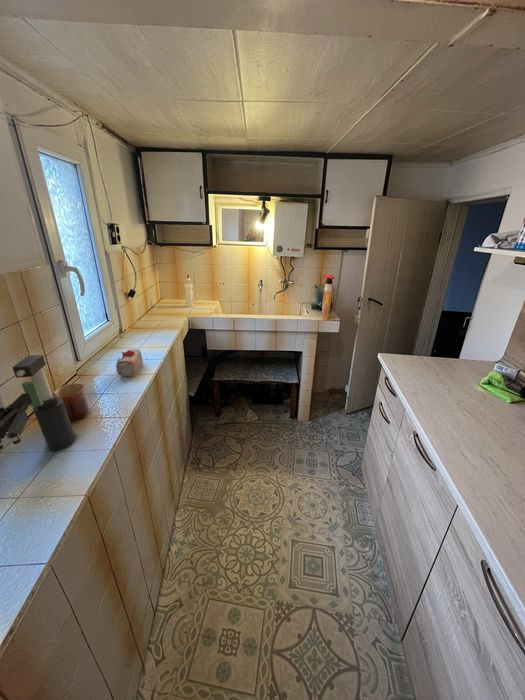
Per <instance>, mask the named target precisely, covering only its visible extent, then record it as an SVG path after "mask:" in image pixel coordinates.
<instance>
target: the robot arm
mask: <svg viewBox="0 0 525 700" xmlns="http://www.w3.org/2000/svg"><path fill="white" fill-rule="evenodd" d="M31 403H32V400H31V398H30V395H29V393H26V394H25V393H21V394H20V395H19V396H18V397H17V398H16V399H15V400H14V401H13V402H12V403H10V404H8V405H7V406H6V407H3V406H2V407H0V451H1V450H3V448H4V447H5V445H8V444H11V443H12V444H13V445H18V444H20V443H21V442H22V440H21V435H22V434H23V431H24V429H25V427H26V424H27V422H28V420H29V415H28V414H27V410H28V409H29V407H30V404H31Z"/></svg>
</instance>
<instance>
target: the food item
mask: <svg viewBox="0 0 525 700" xmlns="http://www.w3.org/2000/svg"><path fill="white" fill-rule="evenodd" d="M121 354H122V355H121V356H122V357H119V358H118V359H117V361H116V364H115V368H116V373H117V375H118V376H121V377H136V375H137V373H138V371H139V370H140V369H141V367H142V365H143V364H144V359H143V356H142V351H141V350H139V349H136V348H130V349H128V350H127V351H121Z"/></svg>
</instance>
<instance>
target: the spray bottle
mask: <svg viewBox="0 0 525 700" xmlns="http://www.w3.org/2000/svg"><path fill="white" fill-rule="evenodd" d="M45 366H46V360H45V358H44V355H43V354H35V355H32V354H31V355H27V356H25V357H24V358H23V359H21V360H20V361H18V362H17V363H16V364H14V366H12V371H13V373H14V376H15V378H16V379H18V378H30V382H31V381H35V382H36V384H37V387H38V390H39V392H40V395H41V397H42V400H43V403H44V404H43V405H42V406H35V407H32V411H33V413H34V415H35V418H36V420H37V424H38V425H39V428H40V431H41V433H42V436H43V438H44V441H45V443H46V445H47V449H49V450H50V451H60V450H63V449H65V448H68V447H69V446H71V445H72V444H73V443H74V442H75V441H76V435H75V432H74V429H73V426H72V423H71V420H69V417H68V414H67V411H66V408H65V405H64V402H63V400H62V398H59V397H57V395H56V394H54V392H53V393H52V390H51V388H50V385H49V382H48V379H47V376H46V373H45V370H44V367H45Z"/></svg>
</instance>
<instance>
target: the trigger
mask: <svg viewBox="0 0 525 700" xmlns="http://www.w3.org/2000/svg"><path fill="white" fill-rule="evenodd" d="M21 387H22V389H23V391H24V394H26V393H29V395H30V398H31V400H32V403H31V404H30V405H29V407H30V408H33V407H35V406H42V405H43V404H44V403H43V400H42V397H41V395H40V392H39V390H38V387H37V384H36V382H35V381H31V380H30V381H24V382H23V383H21Z"/></svg>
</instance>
